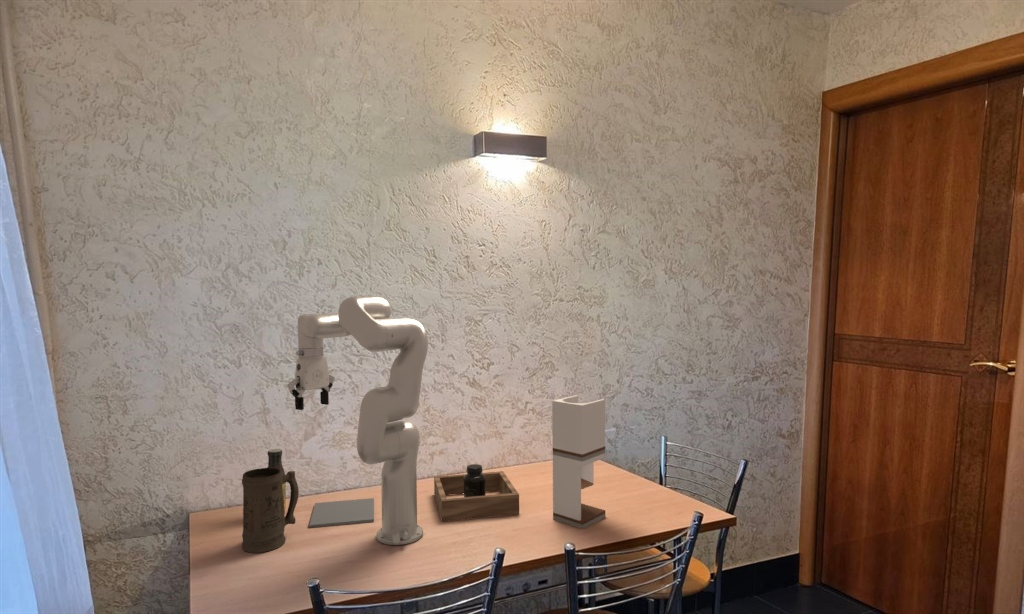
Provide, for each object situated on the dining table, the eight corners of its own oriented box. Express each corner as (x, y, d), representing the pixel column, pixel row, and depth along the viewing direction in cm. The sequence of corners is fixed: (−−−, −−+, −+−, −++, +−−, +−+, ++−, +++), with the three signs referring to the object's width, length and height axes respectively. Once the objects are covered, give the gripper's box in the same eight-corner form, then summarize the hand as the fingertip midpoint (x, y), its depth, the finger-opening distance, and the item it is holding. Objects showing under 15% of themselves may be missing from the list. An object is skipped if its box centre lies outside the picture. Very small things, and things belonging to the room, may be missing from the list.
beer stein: (255, 557, 153) (258, 478, 153) (230, 548, 159) (233, 472, 159) (305, 540, 166) (308, 467, 166) (280, 531, 172) (283, 461, 172)
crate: (519, 514, 181) (519, 494, 181) (442, 521, 176) (441, 501, 175) (503, 488, 203) (503, 471, 203) (434, 494, 198) (434, 476, 198)
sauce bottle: (270, 521, 177) (269, 454, 176) (259, 517, 180) (257, 451, 180) (290, 514, 182) (289, 449, 181) (279, 510, 186) (277, 446, 185)
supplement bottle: (473, 498, 194) (472, 461, 194) (490, 503, 190) (489, 465, 190) (459, 505, 189) (459, 467, 188) (476, 509, 185) (476, 471, 184)
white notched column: (582, 528, 169) (582, 405, 168) (553, 519, 177) (552, 400, 175) (605, 517, 178) (605, 399, 177) (576, 508, 185) (575, 395, 184)
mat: (373, 521, 176) (373, 519, 176) (309, 527, 172) (309, 525, 172) (373, 500, 193) (373, 498, 193) (315, 505, 189) (315, 503, 189)
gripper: (295, 356, 182) (297, 413, 182) (340, 351, 196) (341, 403, 197) (279, 355, 186) (281, 410, 186) (325, 350, 200) (326, 401, 201)
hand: (312, 406), depth 191 cm, fingers open, 9 cm apart
